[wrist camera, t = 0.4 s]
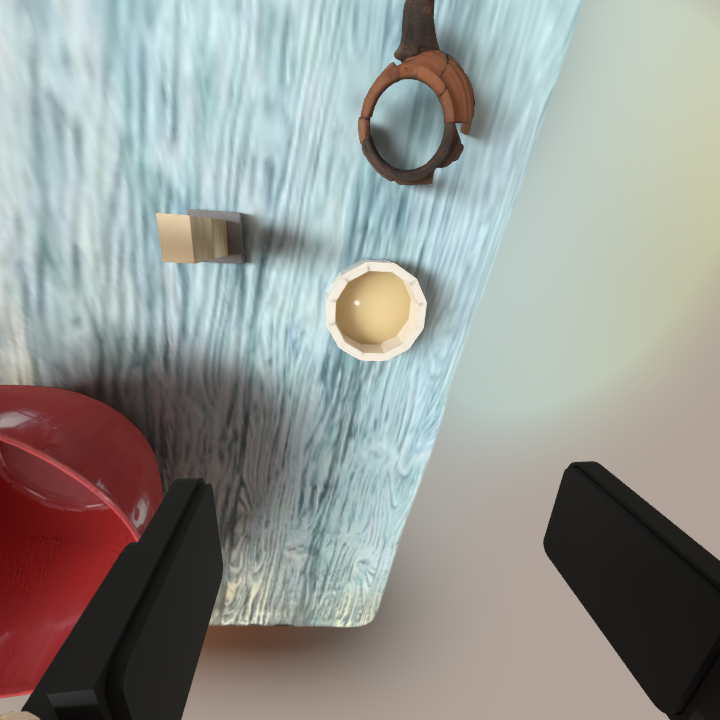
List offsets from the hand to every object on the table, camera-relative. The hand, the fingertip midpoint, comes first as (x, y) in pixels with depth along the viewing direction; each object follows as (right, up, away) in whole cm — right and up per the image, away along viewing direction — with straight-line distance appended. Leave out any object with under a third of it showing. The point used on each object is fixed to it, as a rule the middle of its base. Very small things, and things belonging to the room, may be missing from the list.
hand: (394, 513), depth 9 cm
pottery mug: (+5, +28, +21) cm, 35 cm away
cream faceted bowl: (0, +10, +27) cm, 28 cm away
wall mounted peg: (-14, +16, +23) cm, 31 cm away
